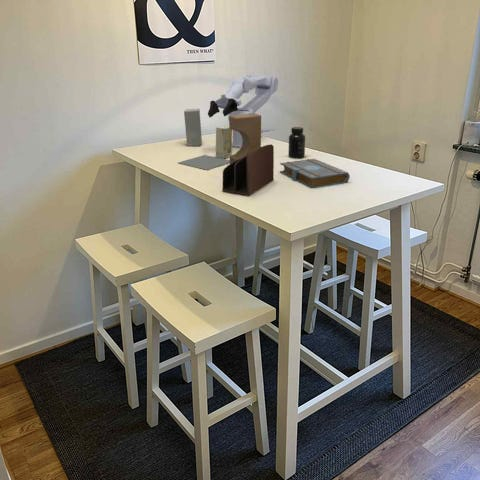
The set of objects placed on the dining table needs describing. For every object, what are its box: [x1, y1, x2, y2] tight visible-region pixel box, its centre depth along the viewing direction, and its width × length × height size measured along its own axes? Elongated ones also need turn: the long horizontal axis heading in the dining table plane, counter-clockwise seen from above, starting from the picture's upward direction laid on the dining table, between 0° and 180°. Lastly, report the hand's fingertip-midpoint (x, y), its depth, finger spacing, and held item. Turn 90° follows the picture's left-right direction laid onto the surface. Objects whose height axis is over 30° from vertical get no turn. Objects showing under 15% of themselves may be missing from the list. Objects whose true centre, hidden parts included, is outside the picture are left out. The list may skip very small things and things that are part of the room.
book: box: [279, 158, 351, 189], centre depth 175 cm, size 21×16×5 cm
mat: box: [177, 154, 230, 171], centre depth 194 cm, size 16×16×1 cm
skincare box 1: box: [183, 108, 203, 147], centre depth 220 cm, size 8×7×16 cm
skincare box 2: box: [215, 125, 233, 159], centre depth 199 cm, size 6×4×12 cm
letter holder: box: [221, 143, 275, 197], centre depth 163 cm, size 10×20×14 cm, turn 152°
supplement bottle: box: [288, 126, 306, 159], centre depth 200 cm, size 7×7×12 cm
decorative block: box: [228, 112, 262, 164], centre depth 183 cm, size 11×6×20 cm, turn 117°
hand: (216, 114), depth 198 cm, fingers open, 7 cm apart
